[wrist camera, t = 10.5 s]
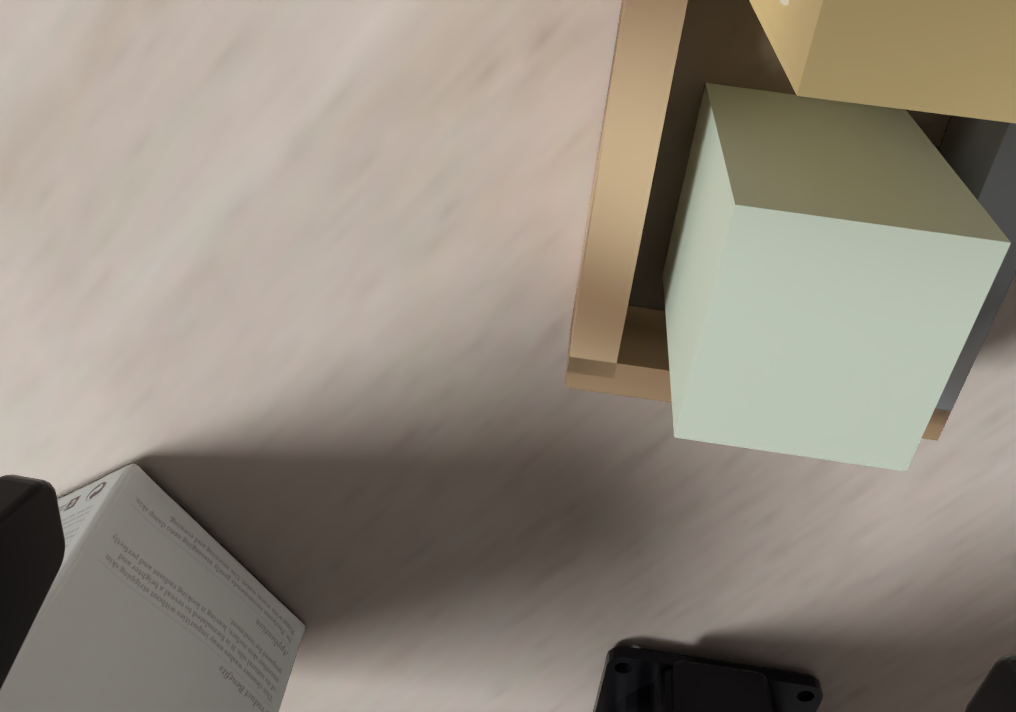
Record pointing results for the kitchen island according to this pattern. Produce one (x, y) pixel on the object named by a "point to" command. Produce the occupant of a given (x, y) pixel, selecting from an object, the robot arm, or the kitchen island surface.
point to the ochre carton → (899, 53)
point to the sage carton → (819, 278)
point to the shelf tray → (624, 199)
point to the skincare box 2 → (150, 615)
